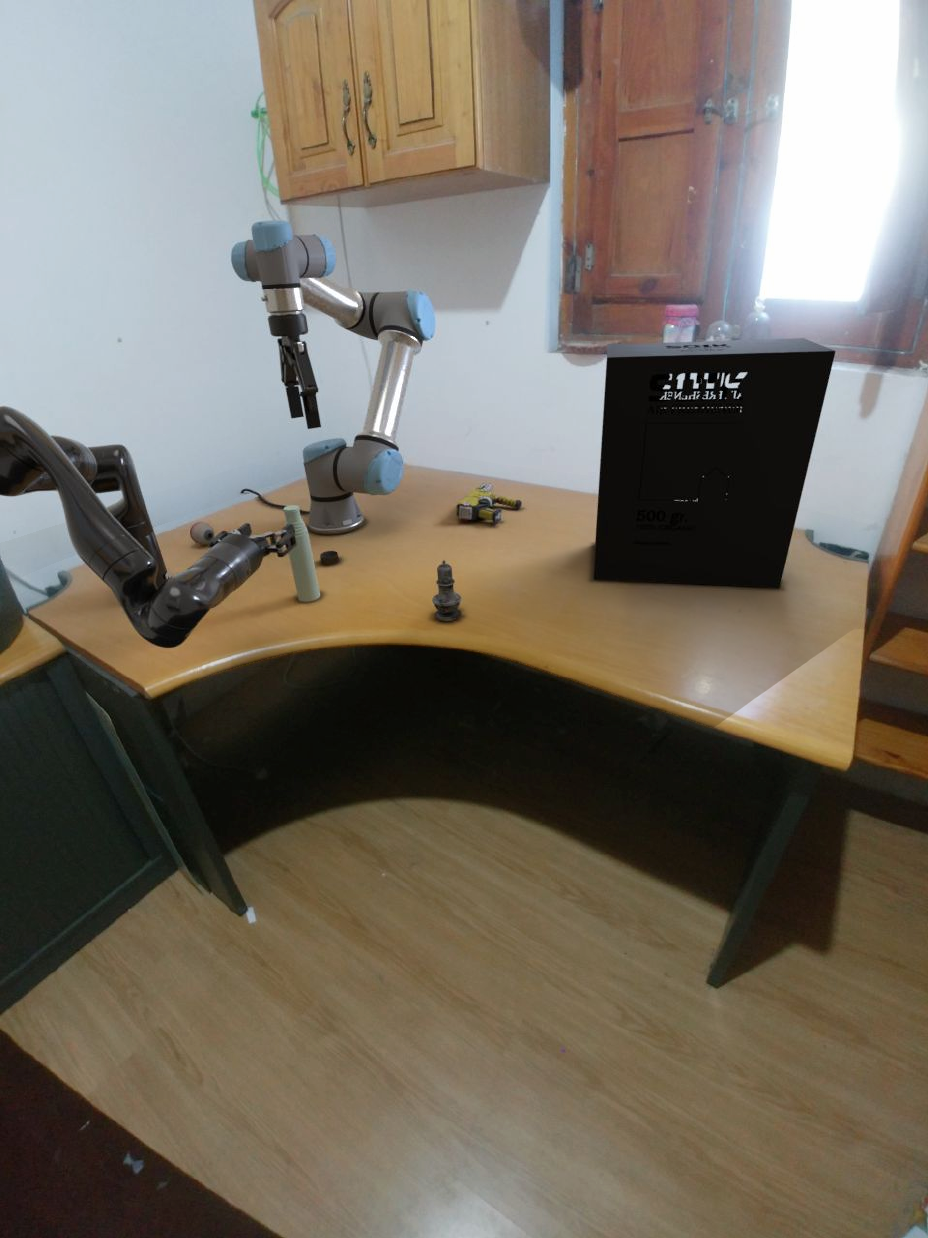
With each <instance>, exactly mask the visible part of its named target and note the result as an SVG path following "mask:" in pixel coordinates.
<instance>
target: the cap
mask: <svg viewBox="0 0 928 1238" xmlns="http://www.w3.org/2000/svg"><path fill="white" fill-rule="evenodd" d="M319 559H320V563H321V565H323V566H333V565H337V564H338V563H339V562H340V557H339V553H338V551H335V550H327V551H323V552H321V553H320V554H319Z"/></svg>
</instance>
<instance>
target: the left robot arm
mask: <svg viewBox="0 0 928 1238" xmlns="http://www.w3.org/2000/svg"><path fill="white" fill-rule="evenodd" d="M133 459H134V458H133V457H132V454H131V452H130V451H129V449H128V448H127V447H126V446H125V445H123V444H121V443H120V444H119V443H115V444H114V443H113V444H105V445H98V446H97V445H95V446H86V445H84V444H83V443H81V442H80V441H78V440H75V439H72V438H70V437H69V438H68V437H65V436H62V435H54V434H53V435H50V434H49V433H48V432H47V430H45V429H44V428H43V427H42V426H41V425H40V424H39V423H38V422H36V421H35V420H34V419H32V418H31V417H29V416H28V415H26V414H25V413H24V412H22V411H20V410H19V409H16V408H13V407H11V406H7V405H1V406H0V496H3V497H11V498H12V497H19V496H23V495H26V494H32V493H36V492H57V494H58V497H59V500H60V503H61V506H62V510H63V514H64V519H65V523H66V524H65V525H66V529H67V532H68V535H69V539H70V542H71V544H72V547H73V548H74V551H75V552H76V554H77V555H78V556H79V558H80V559H81V560H82V562H83V563H84V564H85V565H86V566H88V568H89V569H90V570H91V571H92V572H93V573H94V574H95V575H96V576H97V577H98V578H99V579H100V580H101V581H102V582H103V583H104V584H105V585H107V587H108V588H109V589H111V591H112V593H113V595H114V596H115V598H116V600H117V602H118V604H119V605H120V607H121V609H122V610H123V613H124V614H125V616H126V617H127V619H128V621H129V622H130V623H131V625H132V627H133V628H134V630H135V631H136V632H137V634H138V635H139V636H141V638H142V639H144V640H145V641H147V642H148V643H149V644H152V645H153V646H156V647H159V648H163V649H175V648H177V647H179V646H181V645H182V644H183V643H185V642H186V640H187V639H188V638H189V637H190V635H191V634H192V633H193V632H194V630H195V629H196V628H197V626H198V625H199V624H200V622H201V621H202V620H203V619H204V617H205V616H206V615H207V614H208V612H209V611H211V610H212V609H214V608H216V607H218V606H219V605H220V604H222V602H224V601H225V600H226V599H227V598H228V597H229V596H230V595H231V594H232V593H233V592H235V591H237V589H240V588H241V586H242V585H243V584H245V583H246V582H247V581H248V580H249V579H250V578H251V577H252V576H253V575H254V574H255V573H256V572H257V571H258V570H259V569H260V567H261V565H262V562H263V559H264V558H265V557H267V556H269V555H270V554H276V555H277V558H284V557H285V556H286V555H287V554H289V552H290V551H291V550H292V549H293V548H294V547H295V546H296V545H297V542H296V537H295V529H294V526H293V525H292V524H287V525H286V526H285V525H284V526H283V528H281V529H280V530H278V531H276V532H273V531H270V530H269V531H267V532H263V533H261V534H253V530H252V527H251V523H250V522H245V523H244V524H242V525H241V526H240V527H238V528H237V529H232V530H230V532H228V531H227V530H221V531H220V532H219V533H217V534H216V535H214V538H213V539H212V540H211V541H209V542H208V544H207V545H208V548H209V549H208V550H207V551H206V552H204V553H203V554H202V556H201V557H199V559H198V560H197V561H195V562H194V563H193V564H191V565H190V567H188V568H187V569H186V570H183V571H181V572H178V573H176V574H173V575H172V576H170V574H171V572H170V569H169V568H168V569H167V567H166V563H165V560H164V558H163V554H162V550H161V549H160V545H159V543H158V540H157V537H156V533H155V530H154V527H153V524H152V521H151V518H150V515H149V512H148V509H147V505H146V501H145V498H144V495H143V492H142V488H141V486H140V485H141V484H140V482H139V481H140V480H139V477H138V474H137V470H136V466H135V463H134V460H133ZM113 492H121V495H122V496H121V498H120V499H119V500H118V501H117V502H114V503H112V504H110V505H108V506H106V505H105V504H104V503H103V501H102V500H101V499H100V497H99V495H97V494H104V493H105V494H106V493H113ZM252 534H253V535H252ZM279 537H280V539H278V538H279ZM268 538H269V541H270V542H269V541H268Z"/></svg>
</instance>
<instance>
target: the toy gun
mask: <svg viewBox="0 0 928 1238" xmlns="http://www.w3.org/2000/svg"><path fill="white" fill-rule="evenodd" d="M493 488H494V486H493V483H490V482H489V483H488V484H487V482H483V483H482V484H480V485H479V486H478V487H476V488H475V489H473V490H472V491H471V492H470V493H469V494H468V495H467V496H465V498H463V499H462V500H461V501H459V502H458V503H457V504H456V507H455V508H456V510H455V513H456V514H455V516H456V517H457V518H458V519H460V520H461V521H464V522H465V521H469V520H470V521H475V520H480V519H487V520H489V521H492V524H493V525H494V524H496V523H498V522H500V521H501V520H502V513H503V512H502V510H503V509H502V508H500V507H498V508H495V507H494V505H496V504H498V505H502V506H506V507H511V508H515V509H517V510H518V509H521V507H522V505H523V503H522V500H521V499H515V498H511V497H507V496H503V495H499V496H498V497H496V496H495V495H496V494H494V493H493V491H491V490H494V489H493Z"/></svg>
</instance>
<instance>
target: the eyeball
mask: <svg viewBox="0 0 928 1238" xmlns="http://www.w3.org/2000/svg"><path fill="white" fill-rule="evenodd" d="M189 535H190V538H191V540H192V541H193V542H194V543H195V544H197V545H200V546H205V545H209V544H208V542H209V541H211V540H212V539H213V538H214V537H215V530H214V528H213V526H212V525H211V524H210V523H208V522H204V521H199V522H195V523H194V524H193V525H192V526H191V527H190V530H189Z"/></svg>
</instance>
